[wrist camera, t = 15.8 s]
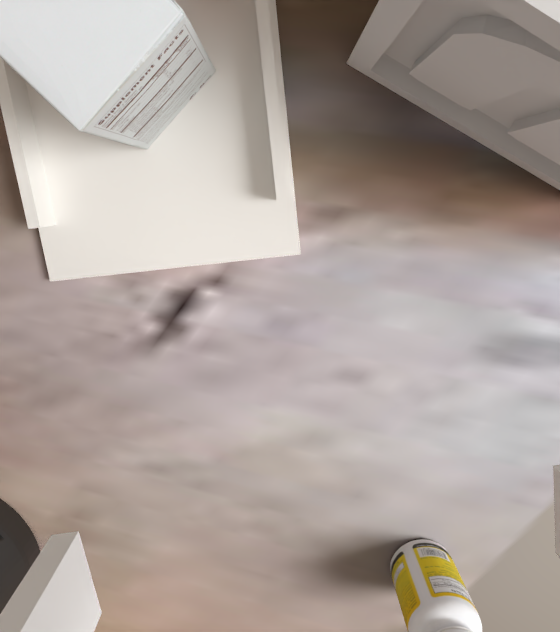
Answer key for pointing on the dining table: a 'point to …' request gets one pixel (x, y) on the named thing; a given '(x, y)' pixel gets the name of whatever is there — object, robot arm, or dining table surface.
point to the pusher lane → (167, 164)
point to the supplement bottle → (432, 590)
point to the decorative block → (475, 70)
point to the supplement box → (107, 62)
